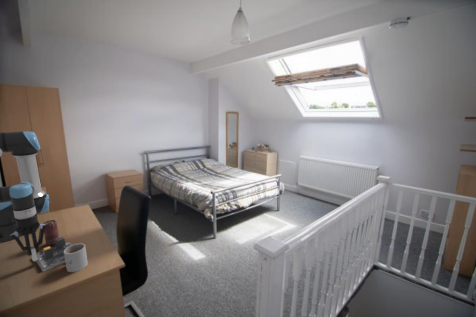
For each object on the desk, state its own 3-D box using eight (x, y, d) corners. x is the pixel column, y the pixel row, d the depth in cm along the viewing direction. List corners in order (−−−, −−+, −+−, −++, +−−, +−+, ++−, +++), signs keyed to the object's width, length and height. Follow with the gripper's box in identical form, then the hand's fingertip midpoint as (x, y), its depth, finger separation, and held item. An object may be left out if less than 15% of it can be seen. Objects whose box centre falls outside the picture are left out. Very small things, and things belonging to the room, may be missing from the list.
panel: (33, 258, 116) (32, 254, 115) (69, 244, 128) (69, 240, 128) (42, 271, 106) (41, 267, 105) (81, 255, 118) (80, 251, 118)
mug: (89, 265, 110) (87, 248, 108) (69, 274, 104) (65, 256, 102) (83, 255, 118) (80, 238, 116) (63, 263, 112) (60, 245, 110)
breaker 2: (64, 254, 116) (62, 246, 115) (70, 252, 118) (69, 243, 117) (66, 256, 114) (64, 248, 113) (72, 254, 117) (71, 245, 116)
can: (52, 247, 125) (48, 225, 122) (43, 246, 126) (39, 224, 123) (62, 241, 130) (59, 220, 128) (54, 240, 132) (50, 219, 129)
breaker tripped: (44, 257, 114) (42, 248, 113) (51, 254, 116) (49, 245, 115) (45, 259, 112) (44, 250, 111) (53, 256, 114) (51, 247, 113)
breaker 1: (57, 247, 122) (56, 239, 121) (64, 244, 125) (62, 236, 124) (59, 249, 121) (57, 241, 120) (65, 246, 123) (64, 238, 122)
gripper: (8, 223, 97) (18, 270, 102) (45, 213, 108) (53, 255, 112) (5, 218, 102) (15, 263, 107) (41, 209, 112) (49, 250, 117)
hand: (34, 259), depth 109 cm, fingers closed
